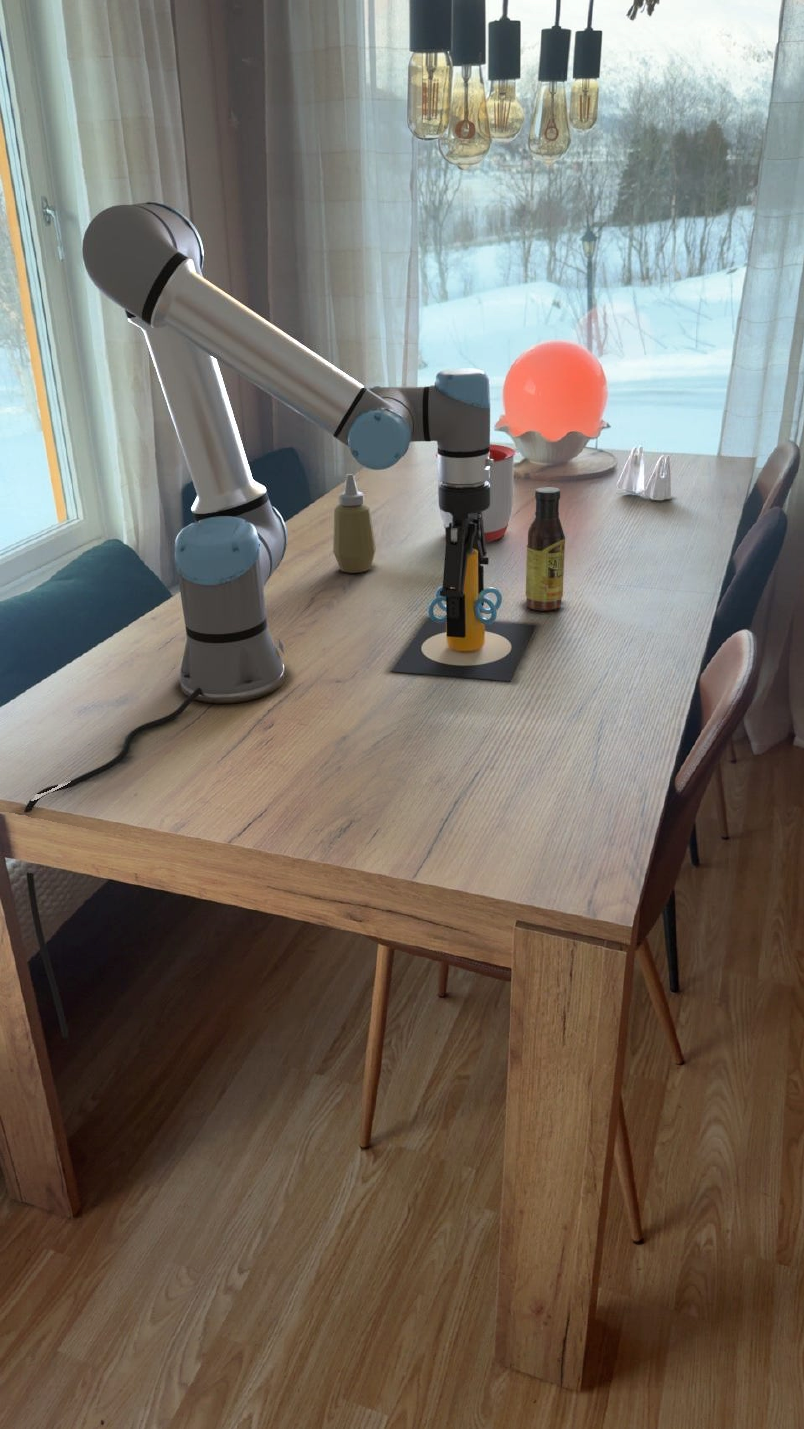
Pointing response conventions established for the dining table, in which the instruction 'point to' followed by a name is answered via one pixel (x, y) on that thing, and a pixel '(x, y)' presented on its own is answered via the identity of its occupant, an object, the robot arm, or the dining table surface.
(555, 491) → the sauce bottle
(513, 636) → the mat
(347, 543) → the squeeze bottle
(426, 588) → the dining table surface
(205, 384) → the robot arm
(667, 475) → the shaker set
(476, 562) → the cylinder
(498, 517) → the citrus juicer
